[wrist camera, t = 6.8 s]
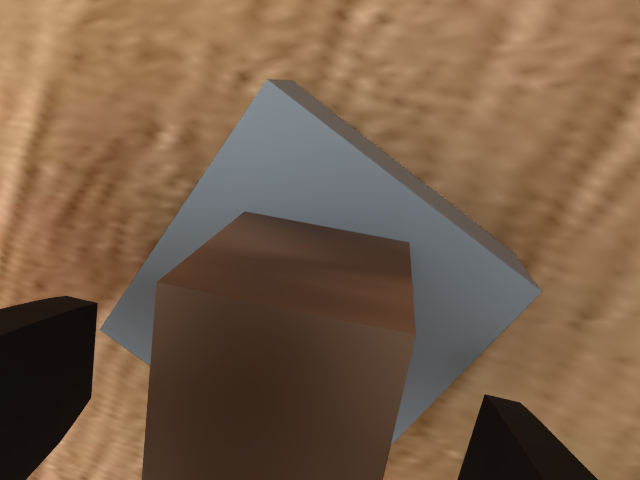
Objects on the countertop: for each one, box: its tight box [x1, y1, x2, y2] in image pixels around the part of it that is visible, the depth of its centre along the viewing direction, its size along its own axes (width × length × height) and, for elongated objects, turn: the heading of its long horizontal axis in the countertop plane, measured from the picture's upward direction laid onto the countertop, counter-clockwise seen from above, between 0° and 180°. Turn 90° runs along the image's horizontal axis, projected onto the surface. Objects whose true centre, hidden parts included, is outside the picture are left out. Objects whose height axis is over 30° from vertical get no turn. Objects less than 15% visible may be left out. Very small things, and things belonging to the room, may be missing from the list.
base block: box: [100, 79, 542, 445], centre depth 15 cm, size 8×8×4 cm
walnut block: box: [142, 211, 416, 480], centre depth 11 cm, size 4×4×5 cm
